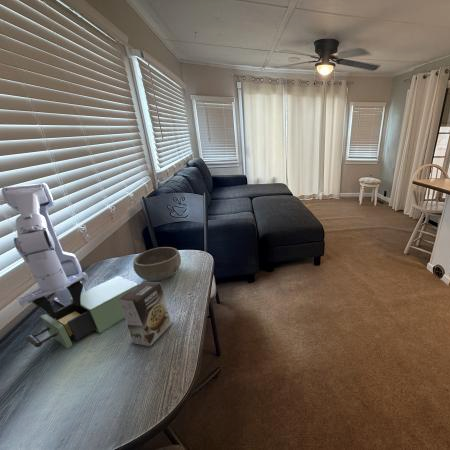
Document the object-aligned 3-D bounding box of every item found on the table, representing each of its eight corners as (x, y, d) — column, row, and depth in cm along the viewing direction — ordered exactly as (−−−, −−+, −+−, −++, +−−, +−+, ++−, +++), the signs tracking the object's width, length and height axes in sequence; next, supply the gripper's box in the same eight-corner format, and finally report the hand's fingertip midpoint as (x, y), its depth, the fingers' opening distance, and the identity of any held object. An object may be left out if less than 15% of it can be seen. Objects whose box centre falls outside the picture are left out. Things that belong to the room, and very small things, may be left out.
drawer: (46, 361, 65) (34, 341, 62) (28, 346, 70) (17, 327, 67) (118, 317, 80) (111, 300, 77) (99, 308, 85) (93, 290, 82)
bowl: (190, 273, 107) (185, 253, 103) (146, 292, 94) (139, 270, 91) (173, 261, 117) (169, 242, 114) (132, 276, 105) (125, 256, 101)
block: (62, 331, 73) (57, 320, 72) (80, 321, 77) (75, 311, 75) (69, 336, 71) (64, 324, 70) (87, 326, 75) (82, 315, 74)
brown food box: (151, 346, 70) (136, 301, 64) (132, 343, 71) (116, 299, 65) (172, 324, 78) (161, 282, 72) (155, 321, 79) (143, 280, 74)
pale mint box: (99, 333, 75) (90, 309, 72) (79, 320, 80) (69, 298, 77) (145, 304, 87) (138, 283, 84) (125, 295, 92) (118, 275, 89)
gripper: (17, 290, 59) (39, 332, 64) (86, 263, 71) (101, 300, 76) (6, 283, 62) (28, 323, 67) (75, 258, 74) (89, 294, 79)
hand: (66, 310), depth 72 cm, fingers open, 5 cm apart
